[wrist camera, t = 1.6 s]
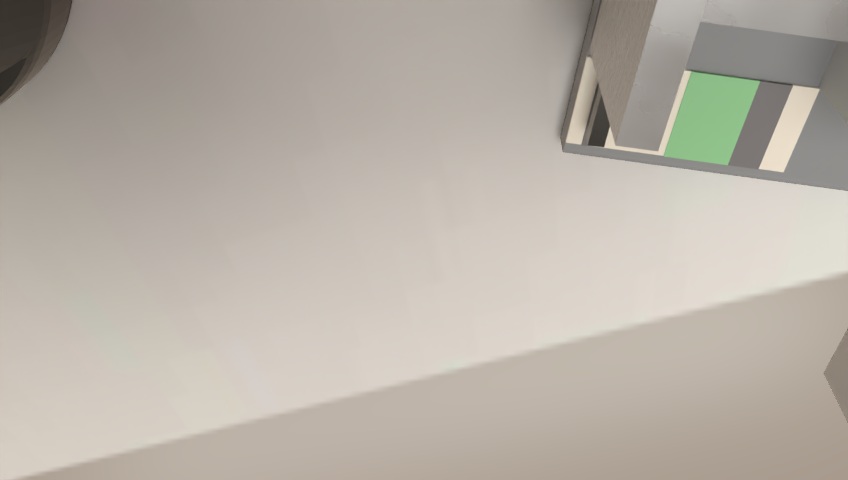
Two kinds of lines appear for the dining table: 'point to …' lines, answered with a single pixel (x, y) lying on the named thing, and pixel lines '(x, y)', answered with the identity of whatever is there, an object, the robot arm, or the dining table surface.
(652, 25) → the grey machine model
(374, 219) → the dining table surface
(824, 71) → the gauge base
